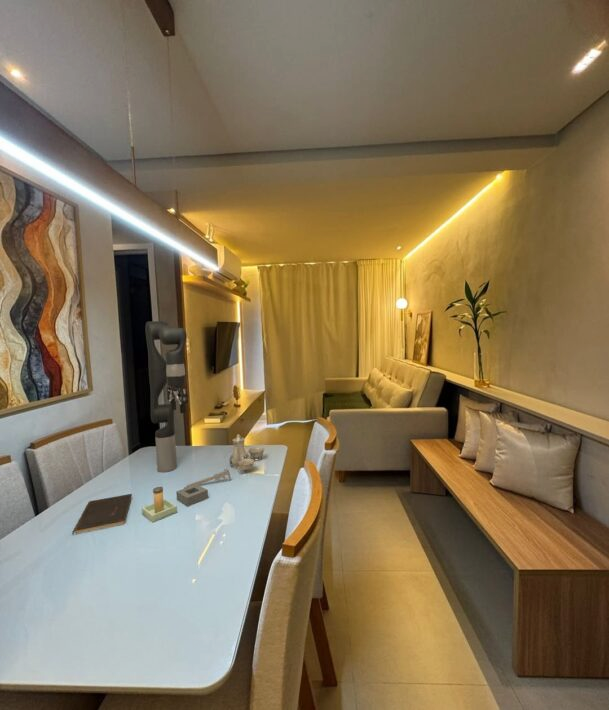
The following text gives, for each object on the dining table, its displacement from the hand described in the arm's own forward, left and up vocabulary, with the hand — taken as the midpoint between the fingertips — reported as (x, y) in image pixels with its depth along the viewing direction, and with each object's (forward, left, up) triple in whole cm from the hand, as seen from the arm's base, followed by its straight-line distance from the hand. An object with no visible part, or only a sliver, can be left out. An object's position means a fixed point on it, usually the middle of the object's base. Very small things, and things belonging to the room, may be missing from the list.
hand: (178, 411), depth 149 cm
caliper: (+5, +10, -35) cm, 36 cm away
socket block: (+13, -2, -34) cm, 37 cm away
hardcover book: (-2, -30, -35) cm, 46 cm away
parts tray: (+14, -16, -34) cm, 40 cm away
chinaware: (-1, +35, -35) cm, 49 cm away
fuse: (+13, -16, -34) cm, 40 cm away
